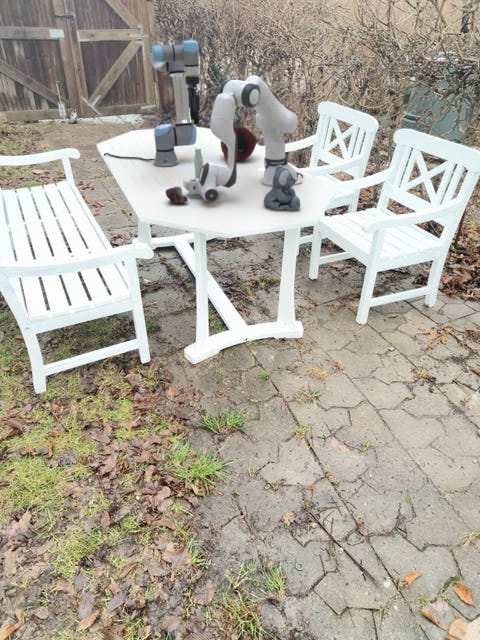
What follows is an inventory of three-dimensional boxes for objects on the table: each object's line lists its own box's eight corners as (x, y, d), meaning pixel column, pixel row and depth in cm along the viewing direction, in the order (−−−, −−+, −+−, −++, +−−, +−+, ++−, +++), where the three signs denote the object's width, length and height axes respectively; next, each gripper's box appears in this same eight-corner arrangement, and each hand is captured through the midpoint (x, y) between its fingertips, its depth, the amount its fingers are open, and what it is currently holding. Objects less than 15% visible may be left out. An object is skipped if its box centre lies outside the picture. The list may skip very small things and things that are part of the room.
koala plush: (301, 211, 222) (304, 171, 211) (265, 212, 221) (266, 172, 210) (295, 199, 236) (297, 161, 225) (261, 200, 235) (262, 162, 224)
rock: (181, 200, 240) (163, 203, 236) (179, 183, 237) (161, 186, 232) (189, 203, 231) (171, 206, 227) (188, 186, 227) (169, 189, 223)
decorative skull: (217, 132, 306) (217, 129, 282) (251, 124, 305) (253, 121, 281) (224, 164, 313) (224, 164, 289) (257, 157, 312) (260, 156, 288)
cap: (198, 124, 246) (198, 120, 245) (190, 124, 246) (190, 120, 245) (199, 122, 249) (199, 119, 248) (191, 122, 249) (191, 119, 248)
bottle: (199, 191, 248) (197, 150, 236) (194, 189, 251) (191, 148, 238) (205, 190, 251) (203, 148, 238) (200, 188, 253) (198, 147, 241)
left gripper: (180, 74, 240) (184, 121, 253) (190, 77, 227) (193, 127, 240) (194, 73, 242) (196, 120, 255) (204, 76, 229) (206, 125, 242)
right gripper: (223, 178, 238) (217, 170, 248) (185, 181, 233) (180, 174, 244) (223, 189, 241) (217, 182, 252) (186, 193, 236) (181, 185, 247)
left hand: (195, 123), depth 248 cm, fingers closed on cap, 4 cm apart
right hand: (199, 178), depth 248 cm, fingers closed on bottle, 4 cm apart
